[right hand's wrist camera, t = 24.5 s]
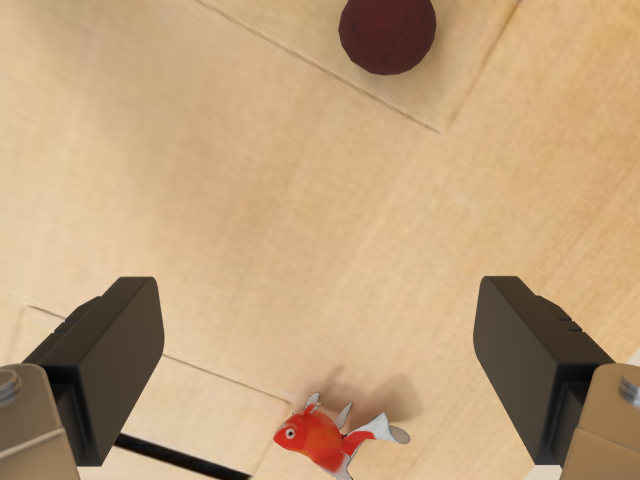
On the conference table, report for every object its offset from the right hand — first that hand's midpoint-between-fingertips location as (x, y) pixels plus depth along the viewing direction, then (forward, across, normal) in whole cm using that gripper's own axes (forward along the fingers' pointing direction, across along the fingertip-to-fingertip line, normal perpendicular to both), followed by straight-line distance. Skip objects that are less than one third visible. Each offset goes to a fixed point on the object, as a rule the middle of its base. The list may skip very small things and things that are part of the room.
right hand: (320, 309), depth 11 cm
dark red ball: (+34, +5, +9) cm, 35 cm away
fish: (+34, +3, -33) cm, 47 cm away
